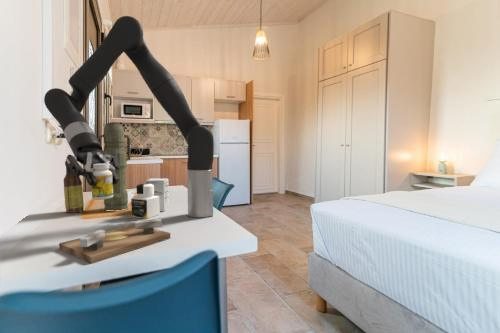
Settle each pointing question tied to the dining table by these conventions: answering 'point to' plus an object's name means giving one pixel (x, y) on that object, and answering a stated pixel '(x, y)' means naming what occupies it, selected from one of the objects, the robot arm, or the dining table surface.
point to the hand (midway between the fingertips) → (105, 183)
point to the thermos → (116, 145)
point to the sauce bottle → (73, 192)
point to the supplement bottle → (102, 182)
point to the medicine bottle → (145, 202)
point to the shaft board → (115, 241)
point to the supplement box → (161, 191)
